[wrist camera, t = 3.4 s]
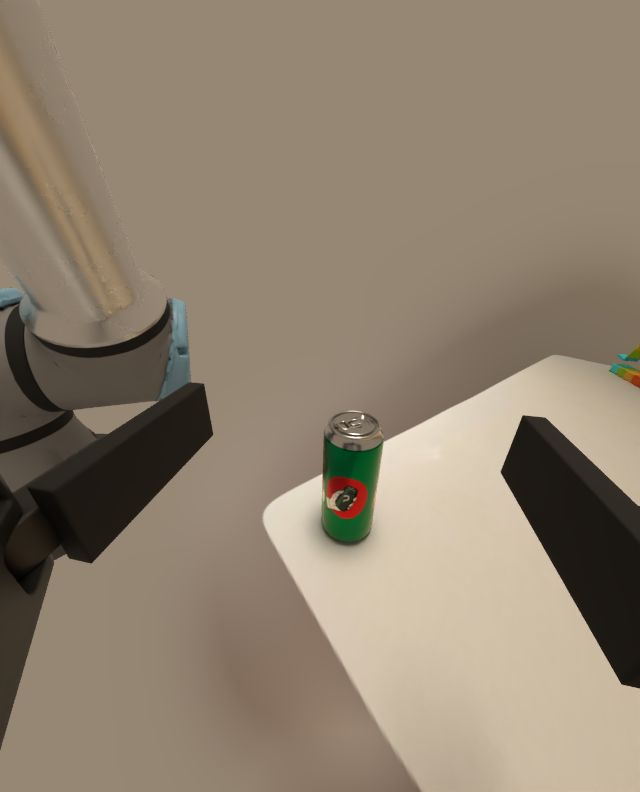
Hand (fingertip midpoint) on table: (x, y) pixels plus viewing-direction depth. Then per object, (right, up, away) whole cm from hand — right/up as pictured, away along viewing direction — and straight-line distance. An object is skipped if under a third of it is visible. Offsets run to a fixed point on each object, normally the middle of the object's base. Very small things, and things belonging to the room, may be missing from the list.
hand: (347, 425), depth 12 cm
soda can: (+1, -12, +17) cm, 20 cm away
